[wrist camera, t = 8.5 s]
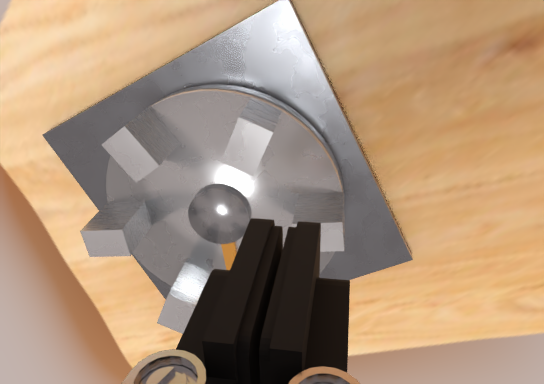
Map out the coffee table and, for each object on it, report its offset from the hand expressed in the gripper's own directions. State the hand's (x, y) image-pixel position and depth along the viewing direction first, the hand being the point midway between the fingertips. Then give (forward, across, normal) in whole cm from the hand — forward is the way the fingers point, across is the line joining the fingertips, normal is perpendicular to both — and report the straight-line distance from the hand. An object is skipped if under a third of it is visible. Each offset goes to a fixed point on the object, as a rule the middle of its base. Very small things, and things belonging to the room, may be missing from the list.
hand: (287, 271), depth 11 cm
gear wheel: (+25, +9, +12) cm, 29 cm away
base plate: (+26, +9, +12) cm, 30 cm away
